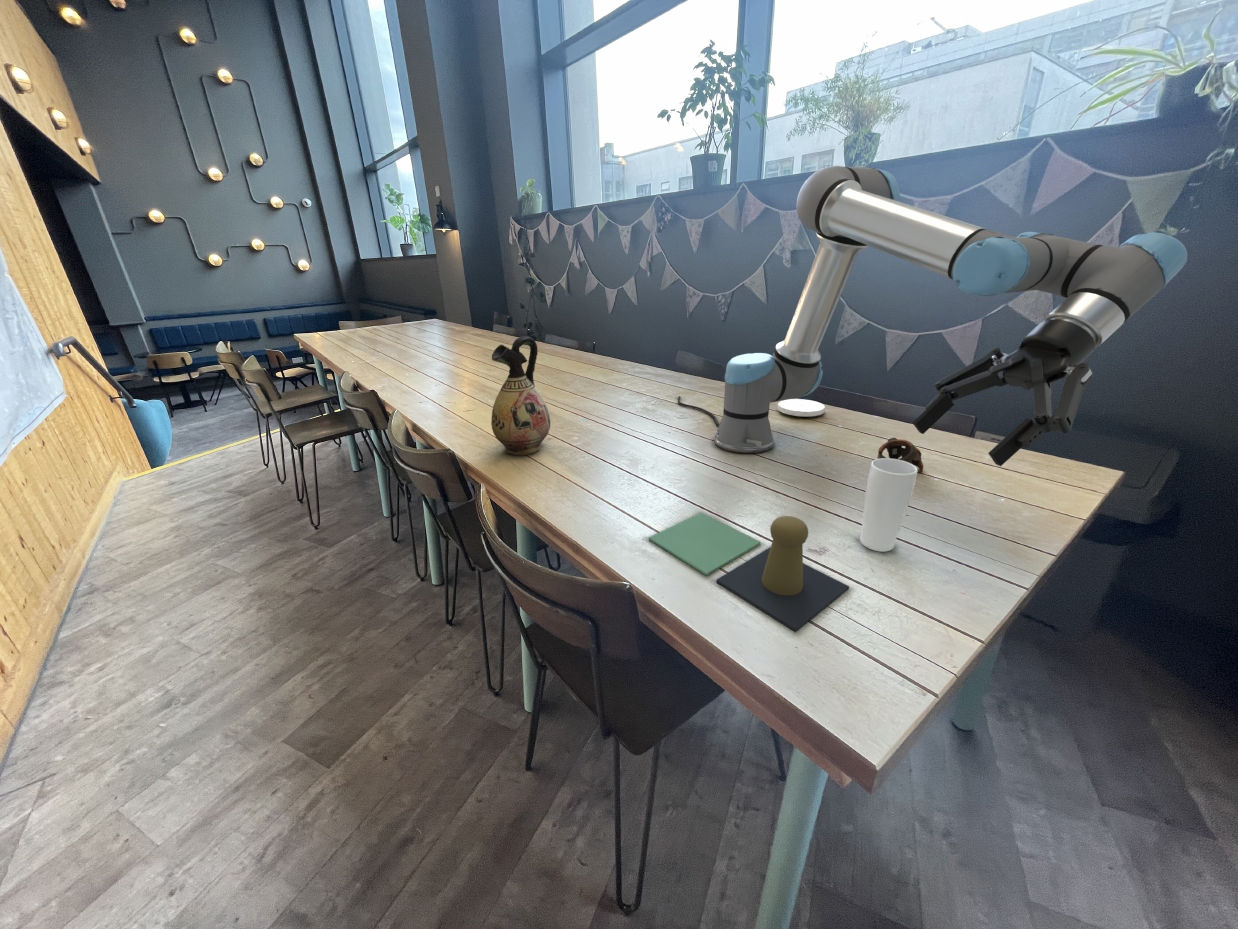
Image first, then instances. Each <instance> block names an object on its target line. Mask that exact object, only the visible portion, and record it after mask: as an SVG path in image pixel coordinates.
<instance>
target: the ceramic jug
mask: <svg viewBox="0 0 1238 929" xmlns="http://www.w3.org/2000/svg"><path fill="white" fill-rule="evenodd" d="M511 345H512V346H511V348H510V347H508V346H505V345H504V344H499V345H498V346H497V347H496V348H495V349H494V350H493V352H492V354H491V361H493V362H496V363H500V364H503V365H505V366H507V367H509V370H508V375H507V377H506V379H505V381H504V382H503V384H502V386H501V388H500V389H499V392H498V394H497V395H496V398H495V401H494V403H493V406H492V410H491V421H490V422H491V424H490V426H491V430H492V433H493V435H494V437H495V438H496V440H497V441H498V442H499V443H500V444H501V445H502V446H503V447H504V448H505V451H506V454H511V455H515V456H526V455H530V454H533V453H536V452H538V451H539V450H540V449H541V446H542V445H541V444H542V443H543V441H544V440H545V439H546V438H547V436H548V435H549V432H550V429H551V416H550V411H549V408H548V405H547V403H546V401H545V399H544V398H543V397H542V395H541V393H540V392H539V390H538V389H537V387H536V385H535V379H534V372H535V369H536V363H537V358H538V355H539V354H538V345H537V342H536V340H535V339H534V338H532V337H530V336H528V335H523V336H519V337H518V338H516V339H515V340H514V341H513V343H512V344H511ZM522 346H527V347H529V356H528V359H527V358H526V356H525V355H524V353H523V352H521V351H520V349H521V347H522ZM526 363H527V367H526V370H524V368H523V364H526Z"/></svg>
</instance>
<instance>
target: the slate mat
mask: <svg viewBox="0 0 1238 929" xmlns="http://www.w3.org/2000/svg"><path fill="white" fill-rule="evenodd" d="M770 548H771V546H769V547H768V548H766V549H765V550H763V551H761V552H759V553H758V554H756V555H755V556H753V557H751V558H750V559H748V560H747V561H745V562H743V563H741V564H740V565H738V566H737V567H734V568H733V569H731V570H730V571H727V573H725V574H723V575H721V576H719V577H718V578H717V579H716V580H715V582H716V584H718V585H720V586H721V587H723V588H725V589H726V590H728V591H729V592H731V593H733V594H735V596H738V597H739V598H741V599H742V600H744V601H746V602H747V603H749V604H750V605H752V606H753V607H755V608H757V609H758V610H759V611H762V612H763V613H765V614H766V615H768V616H769V617H771V618H773V619H774V620H775V621H777V622H778V623H781V624H782V625H784V626H785V627H787V628H788V629H790V630H792V631H793V632H797V631H799V630H800V629H801V628H803V627H804V626H805V625H806V624H807V623H809V622H810V621H811V620H812V619H813V618H814V617H816V616H817V615H819V614H820V613H821V612H822V611H824V610H825V609H826V608H827V607H828V606H829V605H831V604H833V602H835V600H837V599H839V598H840V597H841V596H842V595H844V593H845V592H847V591H848V590H850V586H849V585H847V584H845V583H844V582H841V581H839V580H837V579H835V578H833V577H832V576H829V575H828V574H826V573H824V572H822V571H819V570H817V569H815V568H813V567H811V566H809V565H807V564H806V563H804V562H803V588H802V591H801V592H799V593H798V594H795V595H790V596H785V595H779V594H776V593H773V592H771V591H769V590H768V589H767V588H766V587H765V586H764V585H763V583H762V576H763V573H764V569H765V566H766V562H767V559H768V555H769V552H770Z"/></svg>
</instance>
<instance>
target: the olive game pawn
mask: <svg viewBox="0 0 1238 929" xmlns="http://www.w3.org/2000/svg"><path fill="white" fill-rule="evenodd" d="M769 531H770V537H771V538H772V541H771V545H770V547H771V548H770V547H769V548H770V552H769V555H768V559H767V562H766V566H765V569H764V573H763V576H762V583H763V585H764V586H765V587H766V588H767V589H768V590H769V591H771V592H773V593H776V594H779V595H785V596H790V595H795V594H798V593H799V592H801V591H802V588H803V563H804V559H803V558H804V557H803V556H804V555H803V554H804V553H803V550H804V548H803V546H804V544H805V543H806V541H807V539H808V537H809V528H808V526H807V524H806V522H805V521H804V520H802V519H800V518H798V517H795V516H791V515H781V516H778V517H776V518H775V519H774V520H773V521H772V522H771V525H770V530H769Z"/></svg>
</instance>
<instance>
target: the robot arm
mask: <svg viewBox="0 0 1238 929" xmlns="http://www.w3.org/2000/svg"><path fill="white" fill-rule="evenodd" d="M796 198H797V199H796V205H795V206H796V214H797V217H798V219H799V221H800V222H801V224H802V225H803V226H804V227H805V228H807V229H808V230H811V231H813V232H816V233H815V235H816V237H817V239H818V242H819V246H818V248H817V251H816V252H815V256H814V259H813V261H812V264H811V267H810V269H809V272H808V275H807V278H806V281H805V283H804V285H803V289H802V291H801V294H800V297H799V299H798V303H797V305H796V308H795V310H794V313H793V316H792V319H791V322H790V324H789V327H788V330H787V333H786V335H785V338H784V340H782V341H780V342H778V343H776V345H775V348H774V351H773V353H772V354H769V353H765V352H754V353H753V352H752V353H744V354H739V355H736V356H734V357H732V358H731V359H730V360H729V361H728V362H727V364H726V368H725V374H724V397H723V410H722V417H721V419H720V421H718V419H717V416H716V415H714V414H713V413H712V412H710V411H708V410H706V409H704V408H702V407H699V406H695V405H693V404H687V403H683V402H682V401H681V398H682V397H681V395H678V397H677V403H678V404H679V405H680V406H683V407H686V408H692V409H696V410H699V411H701V412H704V413H706V414H708V415H709V416H711V417H712V418H713V420H714V423H715V424H716V426H717V429H716V432H715V435H714V444H715V445H716V446H717V447H718V448H720V449H721V450H724V451H728V452H731V453H738V454H760V453H764V452H767V451H769V450H770V449H772V447H773V446H774V436H773V433H772V428H771V423H770V420H769V416H770V415H769V414H770V405H771V404H772V403H776V402H777V403H778V402H780V401H784V400H790V399H801V398H803V397H805V396H808V395H810V394H812V393H813V392H814V391H815V390H816V389H817V388H818V387H819V385H820V384H821V381H822V378H823V374H824V372H823V369H822V367H823V364H822V362H821V359H822V354H821V352H820V350H819V348H820V346H821V343H822V341H823V338H824V336H825V334H826V332H827V329H828V327H829V324H830V322H831V320H832V317H833V315H834V313H835V311H836V307H837V305H838V304H839V301H840V298H841V296H842V294H843V291H844V289H845V287H846V284H847V282H848V279H849V277H850V275H851V273H852V270H853V267H854V265H855V263H856V260H857V259H858V256H859V253H861V252H862V251H864V250H865V249H867V248H869V247H871V248H873V249H876V250H878V251H881V252H883V253H886V254H887V255H891V256H893V257H895V258H898V259H901V260H903V261H906V262H908V263H911V264H912V265H915V266H918V267H921V268H923V269H925V270H928V271H931V272H933V273H936V274H938V275H939V276H940V275H941V276H943V277H945V278H948V279H950V280H953V281H954V284H955V285H956V286H957V288H958V289H959V290H960V291H961V292H963V293H965V294H967V295H972V296H981V297H993V296H997V295H1000V294H1001V295H1003V294H1010V293H1021V292H1031V291H1038V292H1043V293H1046V294H1047V293H1048V294H1051V295H1056V296H1059V297H1063V298H1065V299H1064V300H1063V301H1062V302H1061V303H1060V304H1058V306H1056V307H1055V308H1054V309H1053V310H1052V311H1051V312H1049V314H1048V315H1046V316H1045V317H1044V319H1043V320H1042V321H1041V322H1040V323H1038V324H1037V325H1036V326H1035V327H1034V328H1033V329H1032V330H1031V331H1029V333H1028V334H1026V336H1024V338H1023V339H1022V341H1021V343H1020V345H1019V347H1018V349H1017V350H1015V351H1013V352H1011V353H1005V352H1002V350H1001V349H1000V347H994V348H992V349H991V350H989V351H988V352H987V353H986V354H985V355H983V356H982V357H981V358H979V359H977V360H974V361H973V362H971V363H969V364H967V365H966V366H964V367H962V368H960V369H958V370H956V371H954V372H953V373H951V374H949V375H947V376H946V377H943V378H941V379H940V380H938V381H936V382H935V383H934V384H933V387H934V388H935V390H936V391H937V392H938V394H937V395H936V396H935V397H934V398H933V399H931V401H930V402H928V404H926V406H925V410H924V411H923V412H922V413H921V414H919V415H918V417H916V419H914V420H913V421H912V425H913V426H914V428H915V429H916V430H917V431H918V433H919V434H922V435H924V434H925V433H926V432H927V431H928V430H930V428H932V427H933V426H934V425H935V424H936V423H937V422H938V421H939V420H940V419H941V418H942V417H943V416H944V415H945V414H947V412H948V411H949V410H951V409H952V407H953V406H955V403H954V401H957V400H959V399H962V398H965V397H968V396H971V395H974V394H977V393H979V392H981V391H985V390H987V389H990V388H991V389H992V388H993V387H1003V386H1007V385H1008V386H1011V387H1020V388H1021V389H1024V390H1027V391H1030V390H1032V389H1033V408H1034V410H1033V411H1034V415H1032V417H1033V419H1034V420H1033V419H1031V418H1027V417H1026V418H1024V419H1023V420H1022V421H1021V422H1020V423H1019V424H1018V425H1017V426H1016V427H1014V428H1013V429H1012V430H1011V431H1010V432H1009V433H1008V434H1007V435H1006V436H1005V437H1004V438H1003V439H1002V440H1000V442H998V443H997V444H996V445H995V446H994V447H993V448H992V449H991V450H990V451H989V452H988V456H990V458H991V460H992V461H993V463H994V464H995V465H996V466H999V467H1002V466H1003V465H1004V464H1005V463H1006V462H1007V461H1008V460H1010V459H1011V458H1013V456H1014V455H1016V453H1017V452H1019V450H1021V449H1022V448H1024V449H1027V448H1029V447H1031V446H1032V445H1034V444H1035V443H1036V442H1037V441H1038V440H1039V439H1040V438H1041V437H1042V436H1044V434H1046V433H1049V432H1053V431H1055V432H1058V433H1060V434H1067V433H1069V432H1070V431H1071V430H1072V427H1073V425H1074V422H1075V419H1076V415H1077V413H1078V409H1079V405H1080V402H1081V399H1082V397H1083V394H1084V390H1085V388H1086V387H1087V386H1088V385H1089V384H1090V382H1091V381H1092V380H1093V379H1094V374H1093V372H1092V370H1091V368H1090V366H1089V363H1087V362H1084V361H1085V360H1086V359H1087V358H1088V357H1089V356H1090V355H1091V354H1093V352H1094V351H1095V349H1096V348H1098V347H1099V346H1101V345H1102V344H1103V343H1104V342H1105V341H1106V340H1107V339H1108V338H1109V337H1111V336H1112V334H1114V333H1115V332H1116V331H1117V330H1118V329H1119V328H1120V327H1121V326H1123V325H1124V324H1125V323H1126V322H1127V320H1129V319H1130V318H1131V317H1133V315H1134V314H1136V313H1137V312H1138V311H1139V310H1140V309H1141V308H1142V307H1144V306H1145V305H1146V304H1147V303H1149V301H1151V299H1152V298H1154V297H1155V296H1156V295H1157V294H1158V293H1160V292H1161V291H1163V290H1164V289H1165V288H1166V286H1167V284H1168V283H1169V282H1170V281H1171V280H1172V279H1173V278H1174V277H1175V276H1176V275H1177V274H1178V273H1179V272H1180V271H1181V270H1182V269H1183V268H1184V266H1185V265H1186V264H1187V262H1188V251H1187V248H1186V247H1185V245H1184V244H1183V243H1182V242H1181V241H1180V240H1179V239H1177V238H1175V237H1174V236H1171V235H1169V234H1166V233H1161V232H1153V231H1152V232H1149V233H1139V234H1136V235H1133V236H1131V237H1130V238H1128V239H1126V240H1125V241H1124V242H1123V243H1121V244H1119V245H1118V246H1113V245H1108V244H1106V245H1105V244H1096V243H1092V242H1086V241H1081V240H1077V239H1072V238H1068V237H1063V236H1059V235H1055V234H1054V233H1049V232H1045V233H1044V232H1035V231H1025V232H1022V233H1019V235H1018V236H1012V235H1008V234H1005V233H1002V232H998V231H995V230H991V229H988V228H985V227H983V226H978V225H976V224H972V223H970V222H966V221H963V220H959V219H957V218H953V217H949V216H946V215H943V214H940V213H936V212H933V211H930V210H927V209H924V208H921V207H918V206H914V205H911V204H907V203H904V202H901V191H900V187H899V184H898V181H897V179H896V177H895V176H894V175H893V174H892V173H890V172H889V171H887V170H885V169H884V170H883V169H880V168H876V167H871V166H870V167H861V166H844V165H831V166H826V167H822V168H820V169H818V170H817V171H815V172H814V173H812V174H811V175H810V176H809V177H808V178H807V179H806V180H805V181H804V183H803V184H802V186H801V187H800V190H799V192H798V194H797V197H796ZM1001 372H1002V377H1001V375H1000V373H1001ZM1064 378H1065V381H1064V384H1063V387H1062V390H1061V393H1060V396H1059V399H1058V402H1057V405H1056V408H1055V411H1054V414H1053V408H1052V383H1054V382H1056V381H1059V380H1062V379H1064Z"/></svg>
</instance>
